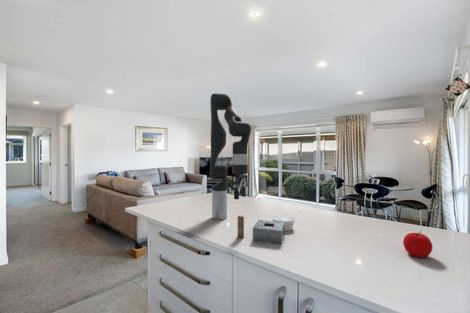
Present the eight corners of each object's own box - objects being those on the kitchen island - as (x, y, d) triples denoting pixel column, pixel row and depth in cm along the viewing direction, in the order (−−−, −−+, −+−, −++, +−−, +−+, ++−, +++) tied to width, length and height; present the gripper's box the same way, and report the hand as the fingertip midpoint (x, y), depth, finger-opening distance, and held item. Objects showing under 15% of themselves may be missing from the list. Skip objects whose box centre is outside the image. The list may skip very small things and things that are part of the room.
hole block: (258, 231, 119) (258, 219, 119) (284, 234, 115) (284, 222, 115) (252, 240, 106) (252, 227, 106) (281, 244, 102) (281, 230, 102)
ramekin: (268, 228, 124) (268, 218, 124) (279, 223, 132) (280, 214, 132) (287, 233, 116) (287, 223, 116) (297, 228, 125) (298, 218, 124)
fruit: (423, 262, 86) (424, 235, 85) (398, 252, 94) (398, 228, 94) (437, 258, 89) (438, 232, 89) (412, 249, 98) (412, 225, 97)
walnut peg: (238, 235, 113) (238, 215, 112) (244, 236, 112) (244, 215, 112) (236, 238, 110) (236, 217, 110) (242, 238, 109) (242, 217, 109)
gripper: (238, 163, 118) (238, 195, 118) (226, 164, 105) (226, 199, 105) (252, 163, 115) (252, 196, 115) (241, 164, 102) (241, 200, 102)
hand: (240, 197), depth 110 cm, fingers open, 8 cm apart
